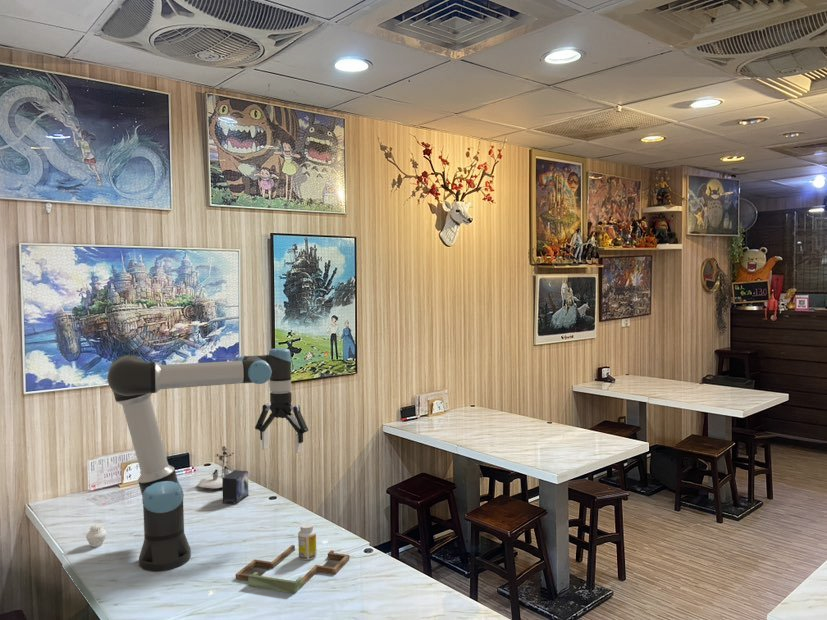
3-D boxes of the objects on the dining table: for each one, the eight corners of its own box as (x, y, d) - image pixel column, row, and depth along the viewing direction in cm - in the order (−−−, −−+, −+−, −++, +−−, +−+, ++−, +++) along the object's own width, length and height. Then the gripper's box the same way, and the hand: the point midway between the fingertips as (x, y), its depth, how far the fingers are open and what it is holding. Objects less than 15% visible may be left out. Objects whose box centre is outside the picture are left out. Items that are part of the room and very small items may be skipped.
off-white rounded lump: (84, 550, 201) (83, 529, 201) (88, 542, 207) (88, 522, 207) (105, 547, 203) (104, 527, 202) (108, 540, 209) (108, 520, 208)
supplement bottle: (317, 552, 196) (316, 521, 196) (316, 560, 191) (315, 528, 190) (299, 553, 196) (298, 522, 195) (297, 561, 190) (297, 529, 190)
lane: (275, 547, 201) (275, 538, 201) (351, 557, 192) (351, 548, 192) (230, 583, 177) (230, 573, 177) (314, 596, 169) (314, 586, 169)
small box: (237, 504, 241) (236, 478, 240) (221, 503, 242) (221, 477, 241) (249, 495, 251) (248, 470, 251) (234, 494, 252) (234, 469, 252)
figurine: (218, 492, 253) (219, 452, 253) (188, 486, 262) (190, 448, 263) (254, 483, 270) (255, 446, 270) (225, 477, 279) (226, 441, 280)
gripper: (316, 391, 219) (317, 450, 219) (256, 388, 227) (257, 445, 227) (306, 395, 212) (307, 455, 212) (244, 391, 219) (245, 450, 220)
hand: (281, 450), depth 220 cm, fingers open, 13 cm apart
